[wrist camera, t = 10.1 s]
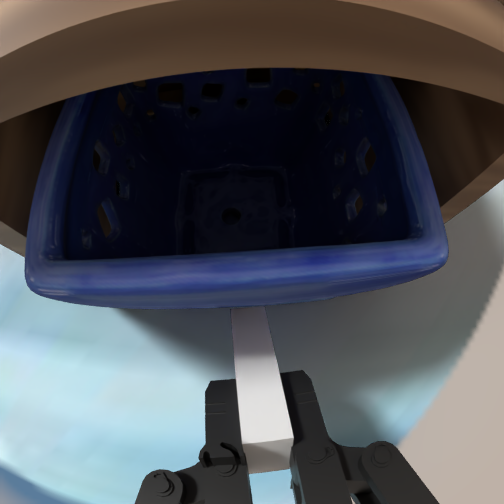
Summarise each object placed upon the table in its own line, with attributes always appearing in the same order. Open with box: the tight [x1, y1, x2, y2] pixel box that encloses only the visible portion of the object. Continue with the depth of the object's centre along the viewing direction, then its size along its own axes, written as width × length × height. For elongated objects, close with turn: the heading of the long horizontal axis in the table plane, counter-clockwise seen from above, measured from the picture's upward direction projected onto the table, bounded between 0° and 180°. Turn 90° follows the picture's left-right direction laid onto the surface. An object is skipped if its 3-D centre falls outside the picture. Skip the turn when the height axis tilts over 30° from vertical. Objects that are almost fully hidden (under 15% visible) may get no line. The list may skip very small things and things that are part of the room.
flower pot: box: [25, 68, 449, 309], centre depth 15 cm, size 13×13×12 cm
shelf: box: [0, 0, 504, 257], centre depth 13 cm, size 14×21×17 cm
